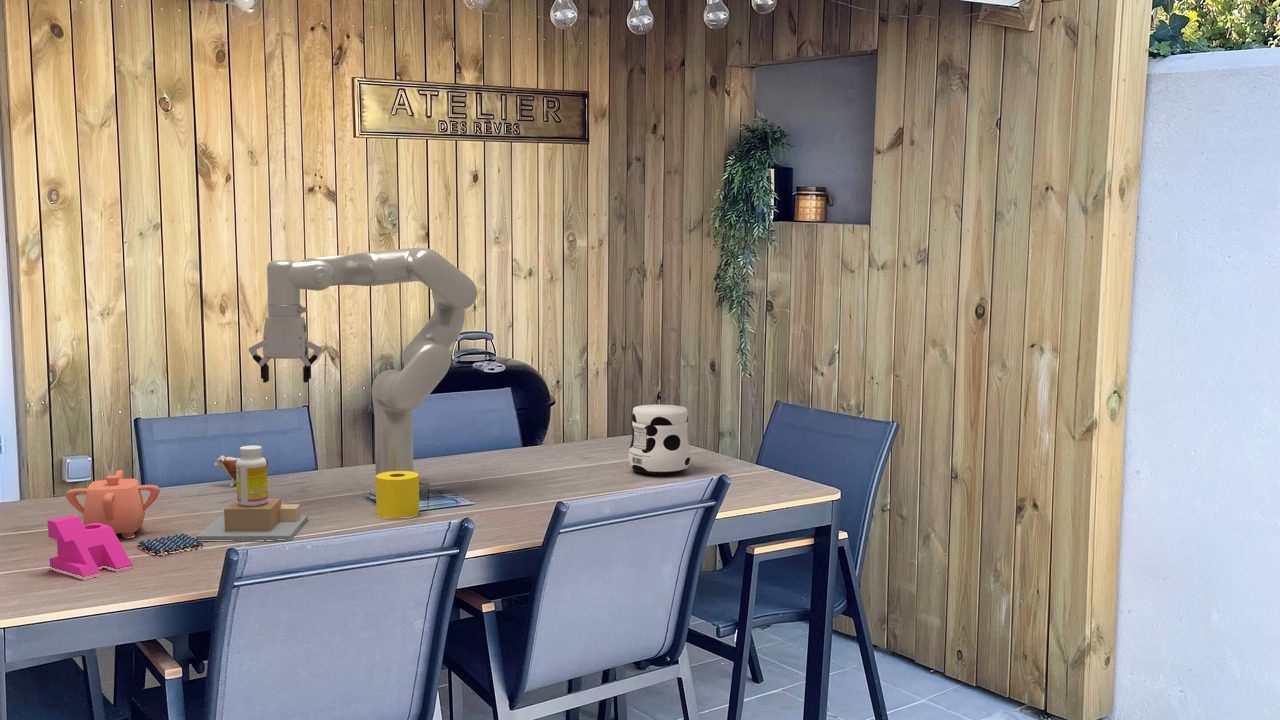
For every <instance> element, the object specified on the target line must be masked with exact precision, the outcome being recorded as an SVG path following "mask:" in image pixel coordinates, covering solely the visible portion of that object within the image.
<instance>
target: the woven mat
mask: <svg viewBox="0 0 1280 720" xmlns="http://www.w3.org/2000/svg"><path fill="white" fill-rule="evenodd" d="M140 547H141V548H142V549H143V550H146V551H148V552H150V551H151V553H154V554H155V555H157V554H161V553H162V554H165V552H167V553H169V552H176V551H179V550H184V549H185V548H187V549H191V548H194V547H202V548H203V547H204V542H201V541H198V539H196V537H192V536H190V535H188V534H185V533H181V534H174V535H172V536H171V535H167V536H165V537H164V536H163V537H162V536H161V537H158V538H157V537H155V538H152V539H147V540H144V541H143V540H140V541H139V542H138V544H137V545H136V548H138V549H139V548H140ZM145 548H146V549H145ZM173 549H174V550H173ZM194 549H195V548H194ZM143 550H142V551H143ZM184 551H185V550H184ZM176 553H177V552H176ZM169 554H170V553H169Z"/></svg>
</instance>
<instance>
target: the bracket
mask: <svg viewBox="0 0 1280 720" xmlns="http://www.w3.org/2000/svg"><path fill="white" fill-rule="evenodd" d="M47 536H48V538H49V539H53V540H56V546H57V547H56V549H57V550H56V551H57V556H54V557H50V558H49V568H50V567H52V568H55V569H59V570H62V571H66V572H69V573H72V574H75V575H80V576H82V577H85V576H90V575H94V574H98V573H101V571H100V570H99V569H98V567H101V566H107V567H111V568H114V569H120V568H124V567H129V566H132V567H133V564H132V562H131V559H130V557H129V555H128V554H127V552H126V550H125V549H124V547H123V545H122V543H121V542H120V540H119V538H118V536H117V533H115V532H114V531H113V529H112V527H111V526H108V525H104V524H100V523H92V524H88V525H84V524H83V520H82V519H81V518H80V516H77V515H68V516H63V517H62V516H61V517H56V518H53V519H48V520H47Z"/></svg>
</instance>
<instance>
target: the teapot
mask: <svg viewBox="0 0 1280 720" xmlns="http://www.w3.org/2000/svg"><path fill="white" fill-rule="evenodd" d="M123 473H124V471H123V469H118V470H116V472H115V474H113V475H106V476H105V477H104V478H105V479H101V480H99V479H98V480H94V481H92V482H91V483H90V484H89V485H88V486H87V487H86V488H84V487H83V488H72V489H69V490H67V491H66V493H65V498H66V500H67V502H68V503H69V504H70V505H71V506H72V507H74V508H75V510H77V511H78V512H79V513H80V514H82V515H83V516H82V523H83V525H88V524H92V523H100V524H104V525H108V526H111V527H112V529H113V531H114V532H115V534H121V536H124V537H131V536H134V535H135V536H136V534H135V533H134V532H137V531H138V530H140V529H141V527H143V525H144V524H143V523H144V521H145V515H146V514H145V513H146V512H145V511H146V510H147V509H149V508H150V506H151V505H153V503H154V502H155V501H156V500H157V498H158V496H159V495H160V492H161V489H160V487H159V486H158V485H155V484H142V485H140V484H139V480H138V479H137V478H123V477H124V475H123ZM142 491H149V492H150V494H149V497H148V498H147V500H146V502H145V503H144V498H143V493H142ZM78 494H85V497H84V498H85V499H84V505H81V503H80V502H79V500H78V499H77V495H78Z"/></svg>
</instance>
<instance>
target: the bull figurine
mask: <svg viewBox="0 0 1280 720" xmlns="http://www.w3.org/2000/svg"><path fill="white" fill-rule="evenodd" d="M262 457H263V456H262ZM240 458H241V457H239V458H238V457H233V456H225V455H220V457H218V458H217V459H216V461H215V463H214V464H213V465H214V467H218V468H220V469H221V470H223V472H224V473H225V474H226V475H227V476H228V477H229V478H231V482H230V485H228V488H233V487H235V486H237V483H236V462H237V460H238V459H240ZM263 458H265V459H266V461H267V467H268V466H269V461H268V458H266V457H265V456H264V457H263Z"/></svg>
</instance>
